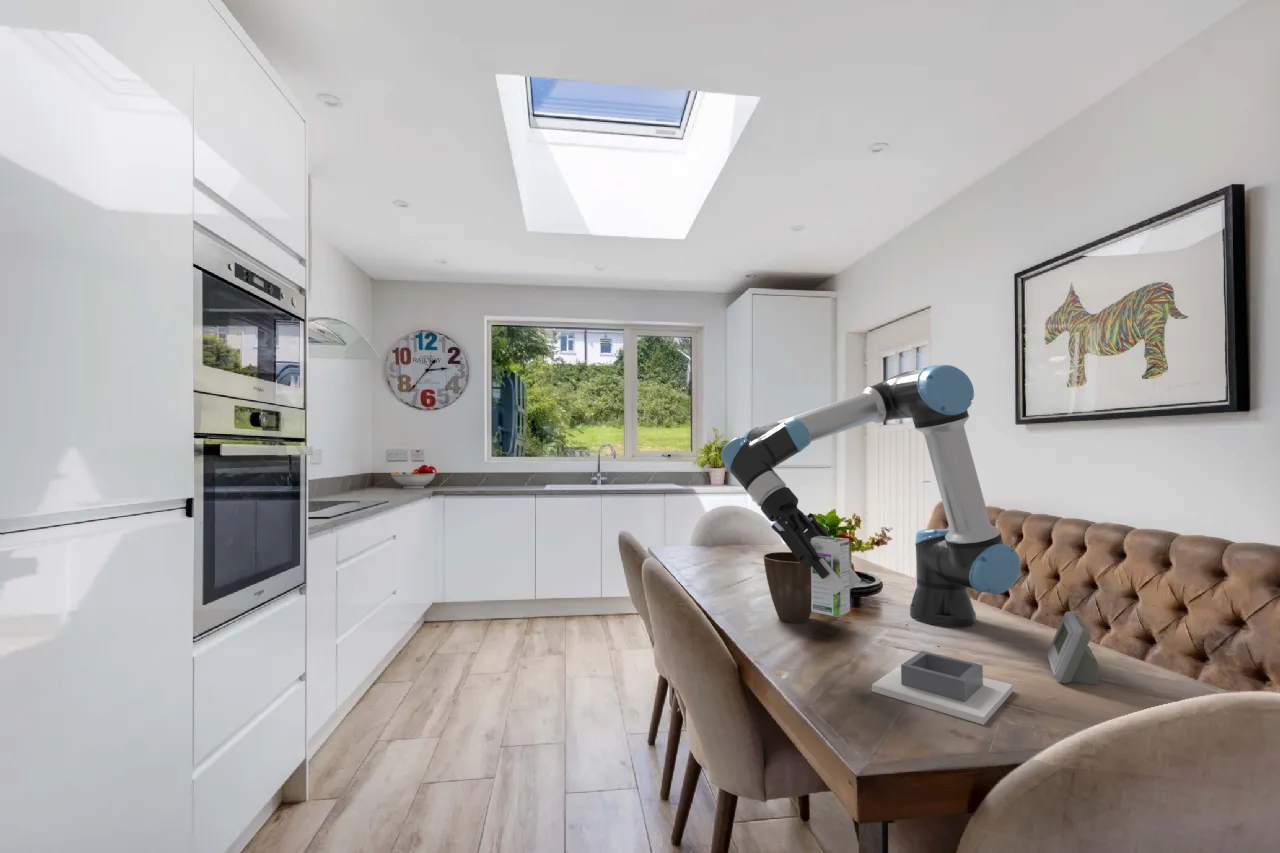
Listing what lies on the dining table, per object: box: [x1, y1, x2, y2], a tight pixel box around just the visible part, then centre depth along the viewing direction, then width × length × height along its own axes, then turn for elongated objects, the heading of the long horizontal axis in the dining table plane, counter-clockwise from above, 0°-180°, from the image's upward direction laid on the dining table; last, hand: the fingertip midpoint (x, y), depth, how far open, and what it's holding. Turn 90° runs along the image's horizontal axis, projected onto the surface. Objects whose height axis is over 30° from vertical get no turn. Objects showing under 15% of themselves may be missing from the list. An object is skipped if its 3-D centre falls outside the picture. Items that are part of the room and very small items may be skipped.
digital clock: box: [1046, 610, 1100, 686], centre depth 113 cm, size 16×9×11 cm, turn 138°
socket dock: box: [871, 650, 1014, 726], centre depth 104 cm, size 18×18×5 cm
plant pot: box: [762, 551, 813, 624], centre depth 149 cm, size 15×15×16 cm
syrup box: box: [810, 536, 851, 618], centre depth 114 cm, size 6×6×14 cm
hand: (848, 587), depth 111 cm, fingers closed on syrup box, 6 cm apart
